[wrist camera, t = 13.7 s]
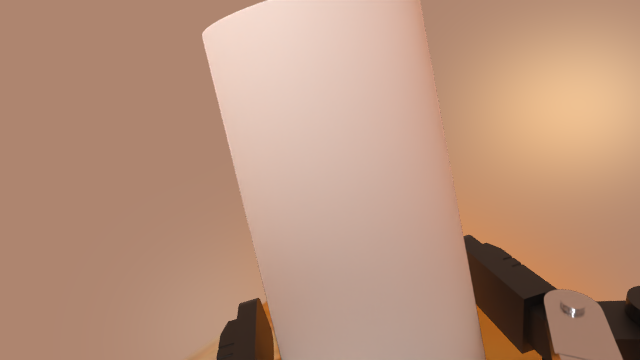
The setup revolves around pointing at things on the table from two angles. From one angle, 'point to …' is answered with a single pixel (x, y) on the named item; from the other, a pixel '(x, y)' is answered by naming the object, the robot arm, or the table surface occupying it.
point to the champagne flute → (346, 179)
